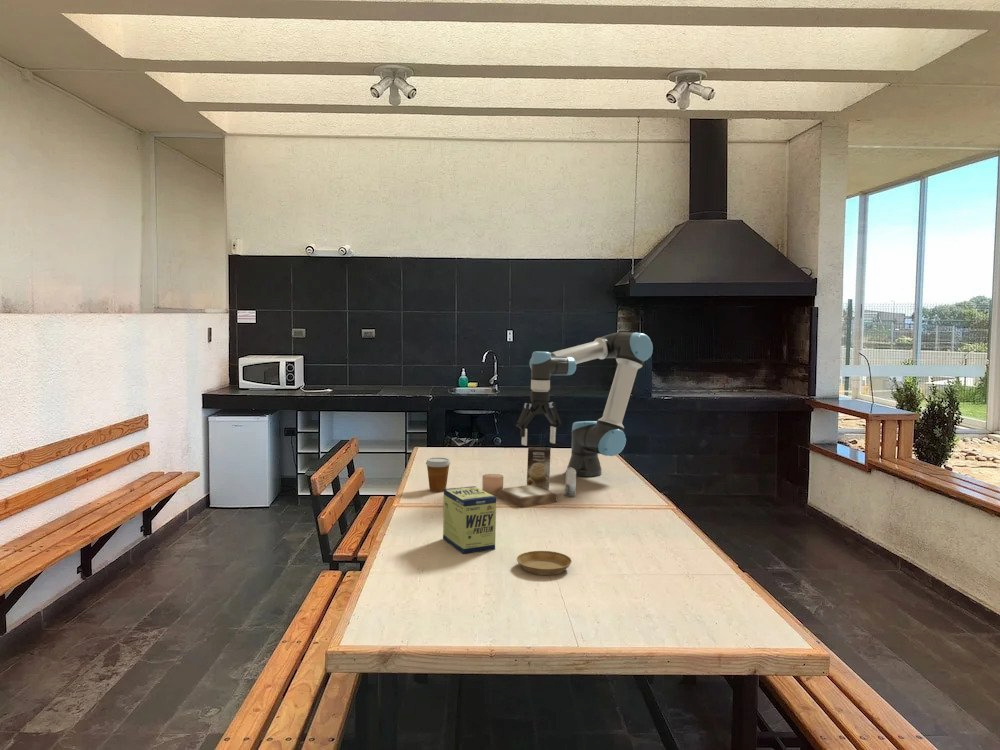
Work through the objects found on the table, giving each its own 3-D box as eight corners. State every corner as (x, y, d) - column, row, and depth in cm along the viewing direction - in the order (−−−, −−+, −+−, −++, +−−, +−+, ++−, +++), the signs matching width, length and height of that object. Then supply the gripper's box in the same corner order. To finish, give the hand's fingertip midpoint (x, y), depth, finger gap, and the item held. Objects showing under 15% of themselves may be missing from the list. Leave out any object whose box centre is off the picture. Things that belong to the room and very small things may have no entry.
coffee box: (526, 489, 275) (526, 449, 274) (527, 485, 282) (527, 446, 280) (549, 490, 274) (550, 450, 273) (549, 486, 281) (550, 447, 279)
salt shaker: (571, 494, 269) (572, 466, 268) (577, 496, 266) (578, 467, 265) (562, 495, 267) (563, 466, 266) (569, 497, 264) (569, 468, 263)
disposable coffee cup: (421, 491, 269) (421, 460, 268) (432, 486, 278) (433, 456, 277) (443, 494, 265) (443, 462, 265) (454, 488, 274) (454, 458, 273)
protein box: (463, 554, 197) (464, 500, 196) (442, 539, 211) (442, 488, 210) (496, 549, 202) (497, 496, 201) (473, 534, 215) (474, 485, 214)
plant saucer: (516, 558, 195) (516, 549, 195) (569, 560, 194) (569, 550, 194) (516, 578, 180) (516, 568, 180) (573, 579, 180) (573, 569, 180)
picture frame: (532, 492, 271) (532, 484, 270) (556, 501, 257) (556, 493, 257) (497, 497, 262) (497, 488, 262) (520, 507, 249) (520, 498, 248)
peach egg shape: (496, 490, 273) (496, 473, 272) (507, 495, 266) (507, 477, 265) (478, 492, 268) (478, 475, 268) (488, 497, 262) (489, 479, 261)
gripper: (560, 389, 285) (558, 440, 286) (508, 390, 272) (506, 444, 273) (571, 390, 278) (569, 443, 280) (518, 392, 265) (517, 447, 267)
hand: (538, 444), depth 276 cm, fingers open, 13 cm apart
